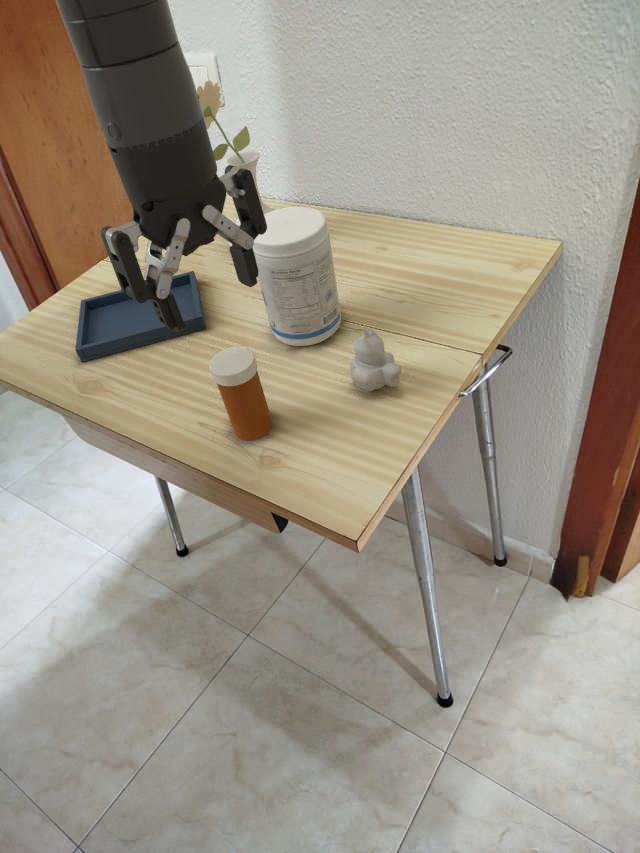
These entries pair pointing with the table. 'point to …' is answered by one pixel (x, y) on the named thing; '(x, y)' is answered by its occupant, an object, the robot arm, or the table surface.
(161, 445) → the table surface
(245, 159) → the flower in vase
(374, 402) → the table surface
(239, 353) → the pill bottle
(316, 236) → the supplement tub
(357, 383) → the grey figurine
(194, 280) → the tray
